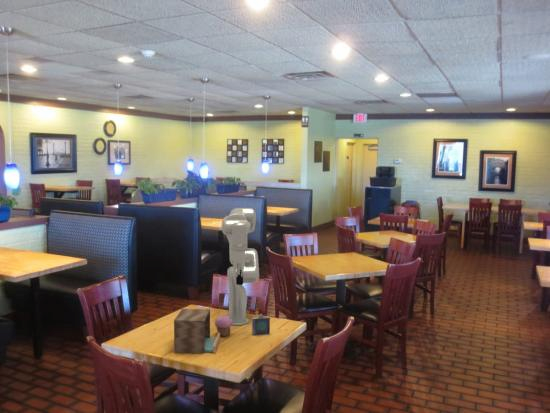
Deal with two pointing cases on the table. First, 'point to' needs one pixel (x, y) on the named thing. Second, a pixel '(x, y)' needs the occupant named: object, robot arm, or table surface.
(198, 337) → the cabinet
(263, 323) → the flask
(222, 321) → the cupcake
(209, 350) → the tray
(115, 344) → the table surface
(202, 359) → the table surface
